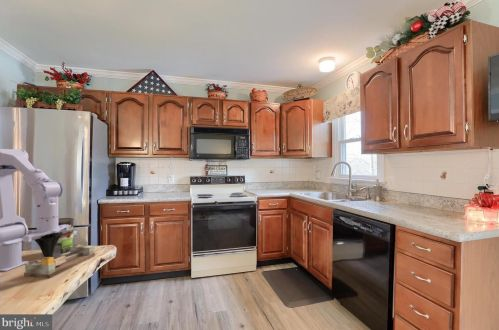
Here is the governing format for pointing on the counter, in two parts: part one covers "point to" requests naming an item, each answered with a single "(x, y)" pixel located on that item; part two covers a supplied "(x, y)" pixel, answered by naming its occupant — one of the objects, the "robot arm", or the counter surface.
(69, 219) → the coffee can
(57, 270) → the rail board
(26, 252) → the counter surface
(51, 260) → the button
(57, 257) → the carriage
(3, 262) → the robot arm
